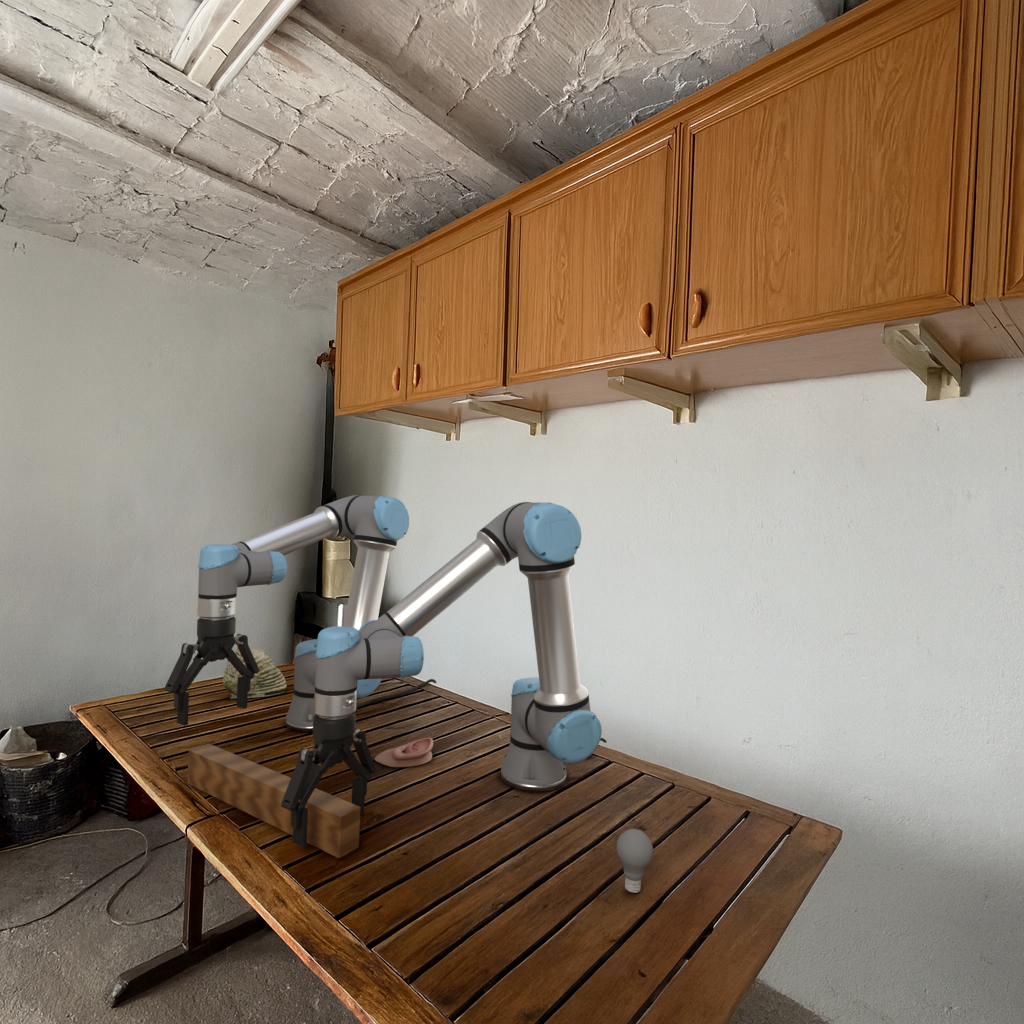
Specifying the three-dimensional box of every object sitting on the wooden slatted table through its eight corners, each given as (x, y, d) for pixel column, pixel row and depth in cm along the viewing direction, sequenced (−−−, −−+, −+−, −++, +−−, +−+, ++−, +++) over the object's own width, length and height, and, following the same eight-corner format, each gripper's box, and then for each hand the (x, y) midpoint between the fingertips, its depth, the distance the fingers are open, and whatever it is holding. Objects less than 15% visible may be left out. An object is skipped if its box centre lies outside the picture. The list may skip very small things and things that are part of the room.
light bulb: (610, 879, 108) (613, 822, 108) (644, 879, 109) (647, 822, 109) (619, 902, 102) (622, 840, 102) (655, 901, 103) (658, 840, 103)
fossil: (218, 695, 195) (220, 647, 195) (278, 685, 208) (279, 640, 207) (228, 703, 189) (230, 653, 188) (289, 692, 201) (290, 645, 201)
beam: (187, 783, 137) (188, 749, 137) (207, 776, 141) (208, 743, 141) (339, 858, 111) (340, 817, 111) (359, 846, 115) (360, 806, 115)
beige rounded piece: (369, 747, 150) (388, 730, 162) (368, 764, 151) (387, 746, 162) (422, 754, 148) (438, 736, 159) (421, 771, 148) (437, 752, 159)
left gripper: (168, 627, 123) (164, 736, 123) (277, 611, 144) (274, 704, 144) (147, 622, 127) (144, 727, 128) (257, 607, 148) (253, 697, 149)
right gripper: (291, 737, 103) (286, 866, 104) (397, 701, 124) (392, 808, 124) (262, 726, 107) (257, 851, 108) (369, 693, 128) (365, 797, 129)
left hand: (213, 715), depth 136 cm, fingers open, 13 cm apart
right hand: (329, 828), depth 116 cm, fingers open, 13 cm apart
